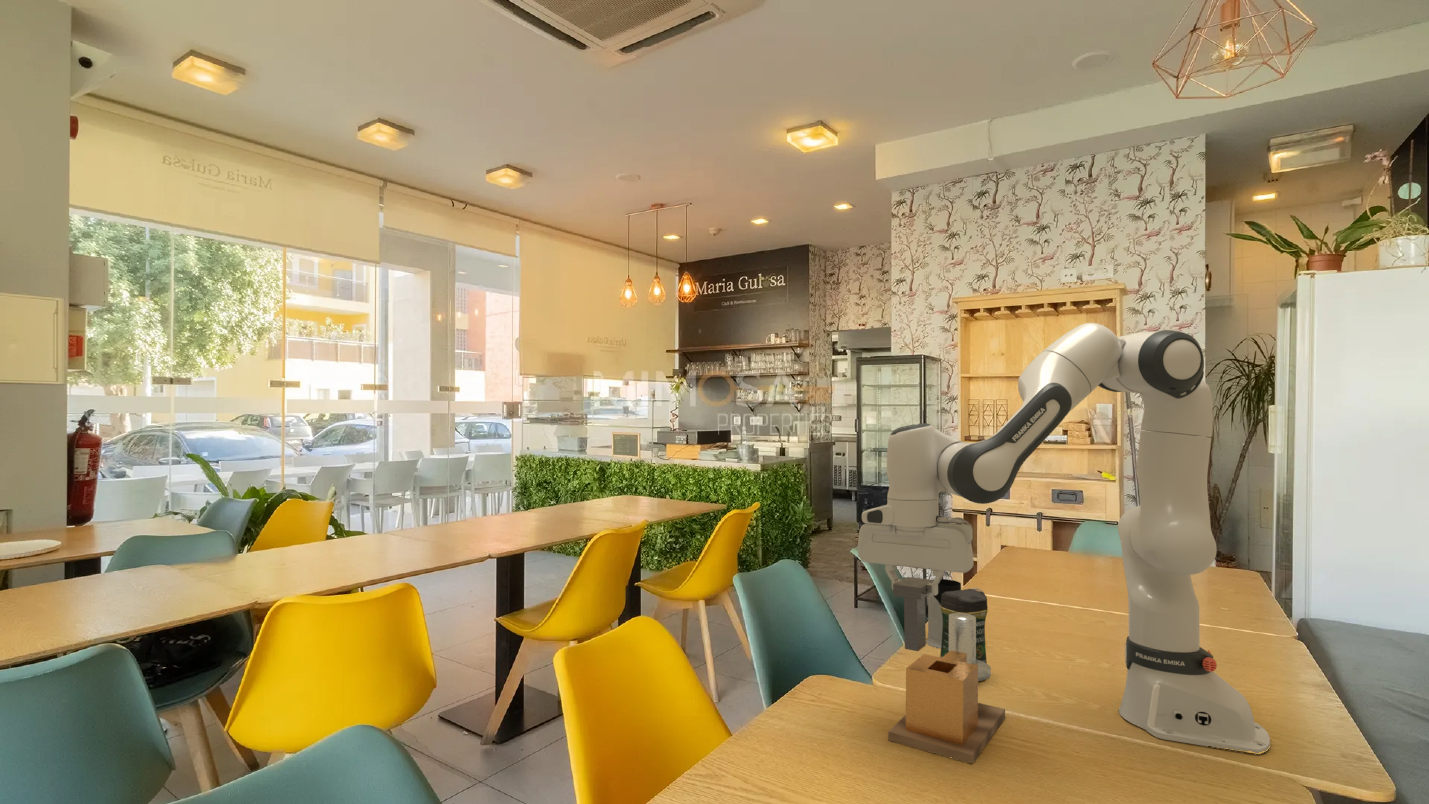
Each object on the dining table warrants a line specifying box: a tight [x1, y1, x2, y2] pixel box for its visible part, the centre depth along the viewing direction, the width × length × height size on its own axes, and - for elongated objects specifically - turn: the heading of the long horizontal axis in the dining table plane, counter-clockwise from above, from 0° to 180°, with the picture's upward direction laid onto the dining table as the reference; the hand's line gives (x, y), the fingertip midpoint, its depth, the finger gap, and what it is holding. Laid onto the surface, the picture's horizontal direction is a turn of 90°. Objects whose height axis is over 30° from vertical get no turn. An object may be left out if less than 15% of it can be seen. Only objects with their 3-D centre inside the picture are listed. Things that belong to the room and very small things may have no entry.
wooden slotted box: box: [905, 613, 992, 745], centre depth 127 cm, size 22×10×16 cm, turn 145°
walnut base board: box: [887, 702, 1006, 765], centre depth 125 cm, size 22×14×2 cm, turn 145°
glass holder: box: [926, 578, 985, 649], centre depth 172 cm, size 9×14×15 cm, turn 88°
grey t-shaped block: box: [892, 576, 934, 652], centre depth 125 cm, size 7×5×12 cm
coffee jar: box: [939, 588, 989, 664], centre depth 150 cm, size 10×8×19 cm
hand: (914, 592), depth 125 cm, fingers closed on grey t-shaped block, 5 cm apart
